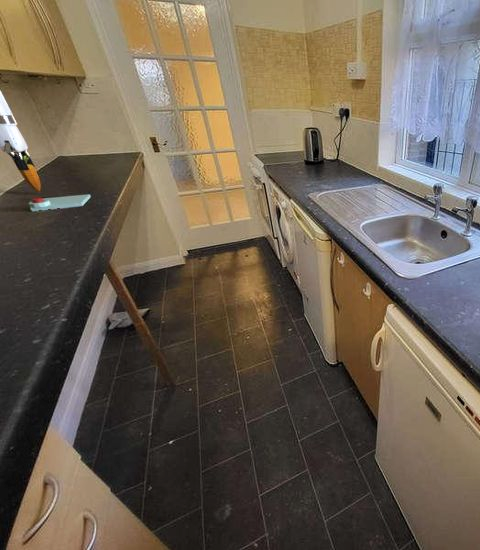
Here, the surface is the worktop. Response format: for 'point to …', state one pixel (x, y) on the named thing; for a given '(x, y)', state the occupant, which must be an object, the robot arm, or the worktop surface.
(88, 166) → the worktop surface
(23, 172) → the carrot
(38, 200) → the tare button
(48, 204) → the scale
